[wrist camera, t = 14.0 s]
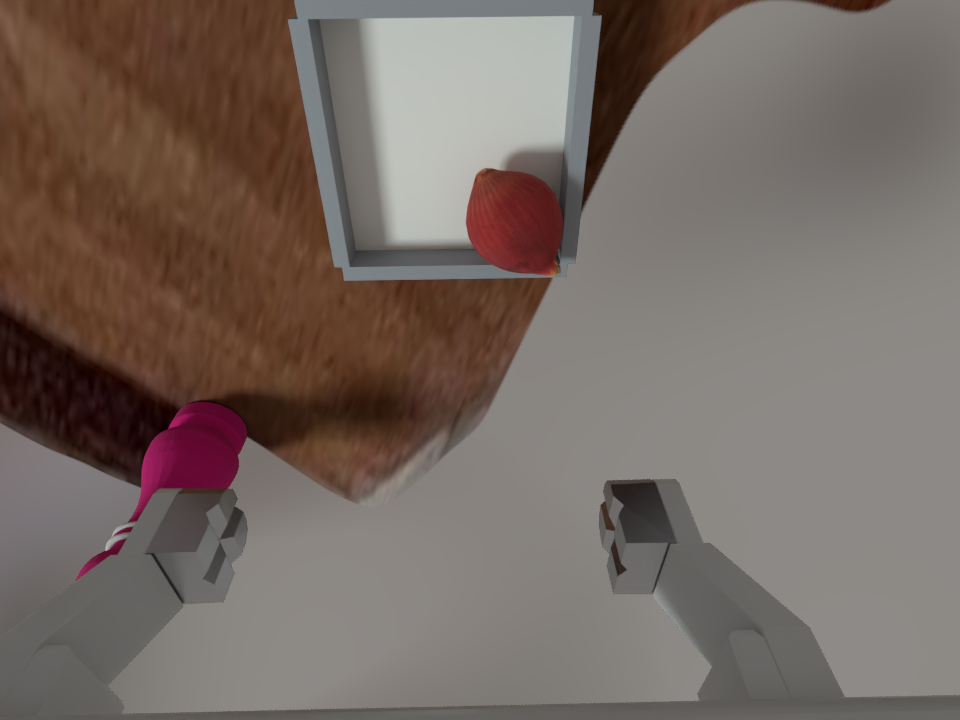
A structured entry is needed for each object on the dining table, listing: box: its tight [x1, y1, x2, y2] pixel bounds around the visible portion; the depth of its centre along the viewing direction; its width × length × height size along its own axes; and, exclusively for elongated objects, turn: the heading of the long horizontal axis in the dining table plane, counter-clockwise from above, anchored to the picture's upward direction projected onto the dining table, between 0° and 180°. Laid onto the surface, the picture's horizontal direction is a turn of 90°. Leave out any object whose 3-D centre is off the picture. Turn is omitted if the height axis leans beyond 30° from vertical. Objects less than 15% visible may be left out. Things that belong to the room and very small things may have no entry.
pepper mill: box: [75, 402, 247, 581], centre depth 42 cm, size 7×7×20 cm
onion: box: [466, 168, 563, 277], centre depth 34 cm, size 6×6×8 cm
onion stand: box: [288, 0, 602, 281], centre depth 34 cm, size 16×16×4 cm
